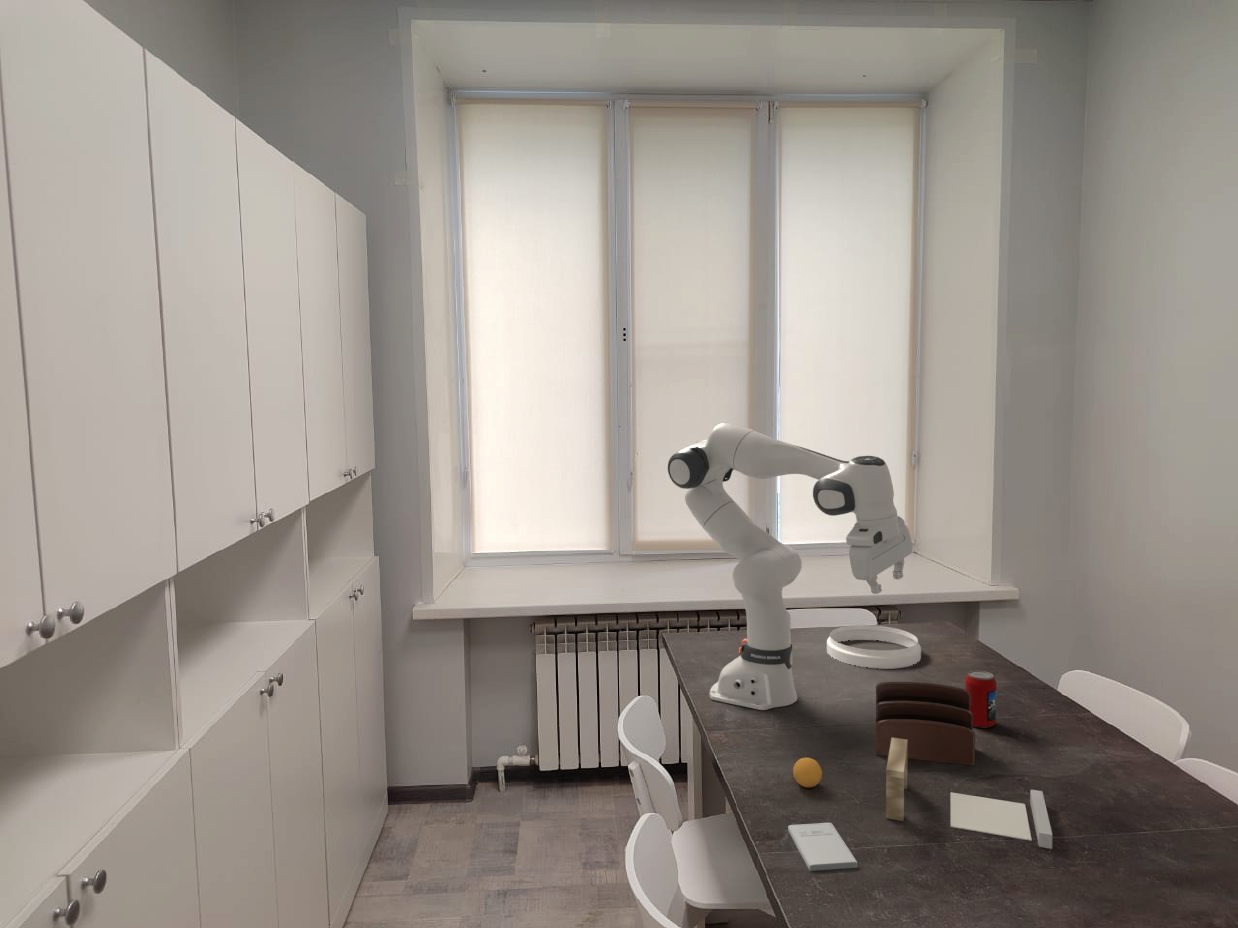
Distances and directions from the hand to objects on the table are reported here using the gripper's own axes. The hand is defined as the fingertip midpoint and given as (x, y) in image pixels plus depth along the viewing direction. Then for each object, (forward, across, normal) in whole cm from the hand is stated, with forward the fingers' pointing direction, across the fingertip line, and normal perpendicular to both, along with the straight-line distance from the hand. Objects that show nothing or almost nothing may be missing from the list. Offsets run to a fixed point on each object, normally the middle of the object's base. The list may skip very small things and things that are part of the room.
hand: (887, 585), depth 179 cm
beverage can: (+39, -14, +10) cm, 42 cm away
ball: (+26, +39, 0) cm, 47 cm away
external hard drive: (+27, +56, +15) cm, 64 cm away
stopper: (+34, +21, +37) cm, 55 cm away
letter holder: (+35, +9, +8) cm, 37 cm away
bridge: (+31, +32, +15) cm, 47 cm away
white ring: (+41, -41, -36) cm, 68 cm away
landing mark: (+33, +25, +29) cm, 51 cm away
